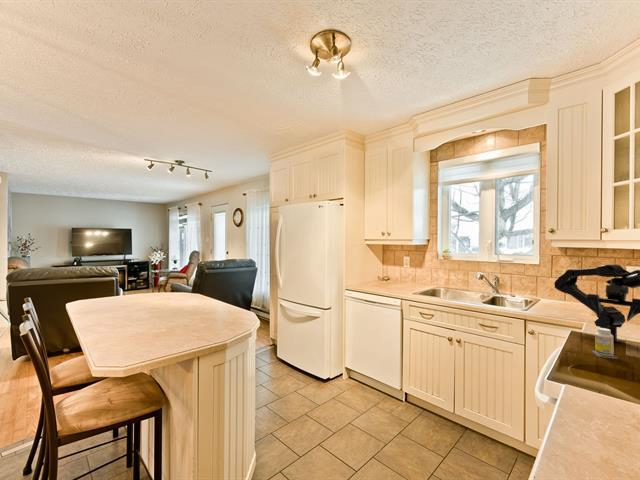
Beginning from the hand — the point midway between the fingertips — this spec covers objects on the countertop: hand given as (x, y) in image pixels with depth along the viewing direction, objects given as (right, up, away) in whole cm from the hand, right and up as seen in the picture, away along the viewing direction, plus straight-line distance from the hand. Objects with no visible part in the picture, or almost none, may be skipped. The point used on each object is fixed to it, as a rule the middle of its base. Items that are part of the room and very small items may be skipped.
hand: (612, 318), depth 129 cm
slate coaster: (-9, -14, -6) cm, 17 cm away
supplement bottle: (-9, -13, -5) cm, 17 cm away
